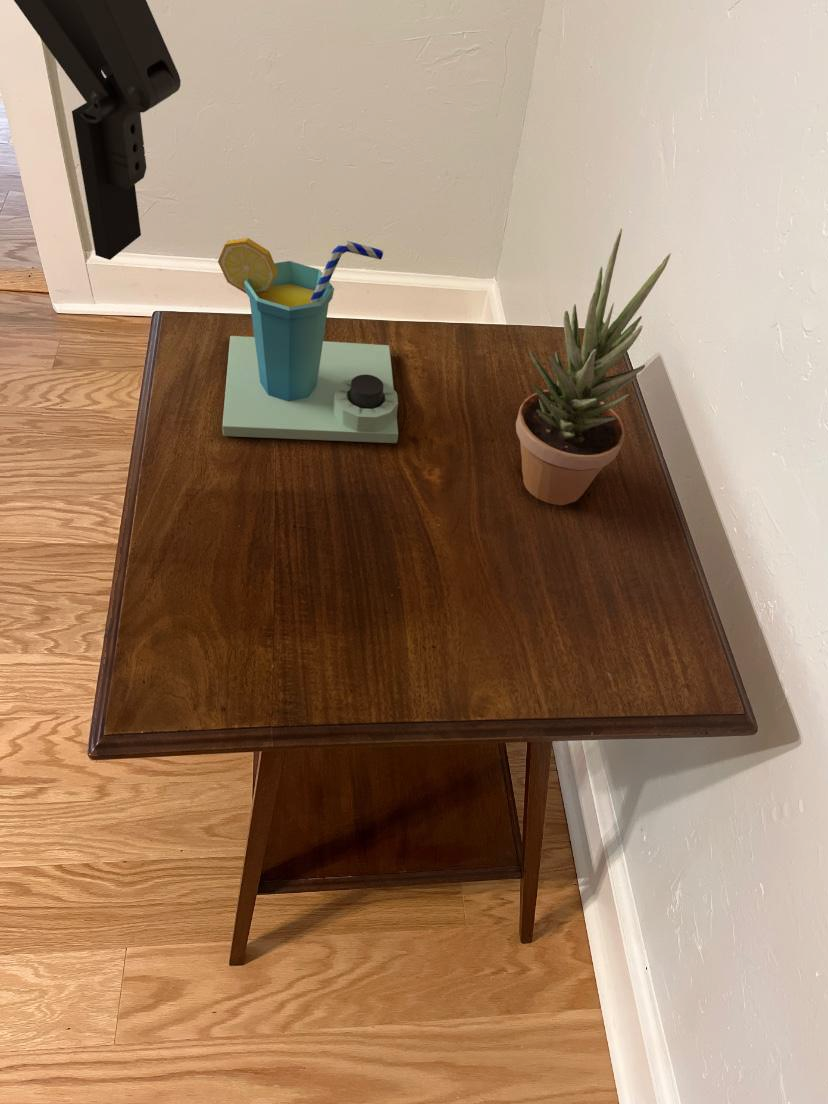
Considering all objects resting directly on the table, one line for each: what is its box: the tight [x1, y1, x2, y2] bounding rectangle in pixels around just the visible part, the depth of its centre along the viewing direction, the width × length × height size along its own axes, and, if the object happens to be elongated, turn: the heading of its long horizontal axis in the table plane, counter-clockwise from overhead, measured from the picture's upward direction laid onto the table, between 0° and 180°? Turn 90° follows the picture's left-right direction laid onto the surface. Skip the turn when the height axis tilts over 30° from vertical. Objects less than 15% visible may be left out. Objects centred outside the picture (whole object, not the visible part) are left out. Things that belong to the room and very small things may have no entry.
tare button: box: [350, 375, 383, 409], centre depth 84 cm, size 3×3×2 cm
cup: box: [217, 237, 384, 401], centre depth 82 cm, size 14×8×15 cm, turn 96°
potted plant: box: [515, 227, 672, 506], centre depth 76 cm, size 10×10×25 cm
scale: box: [221, 335, 399, 444], centre depth 88 cm, size 16×14×3 cm
